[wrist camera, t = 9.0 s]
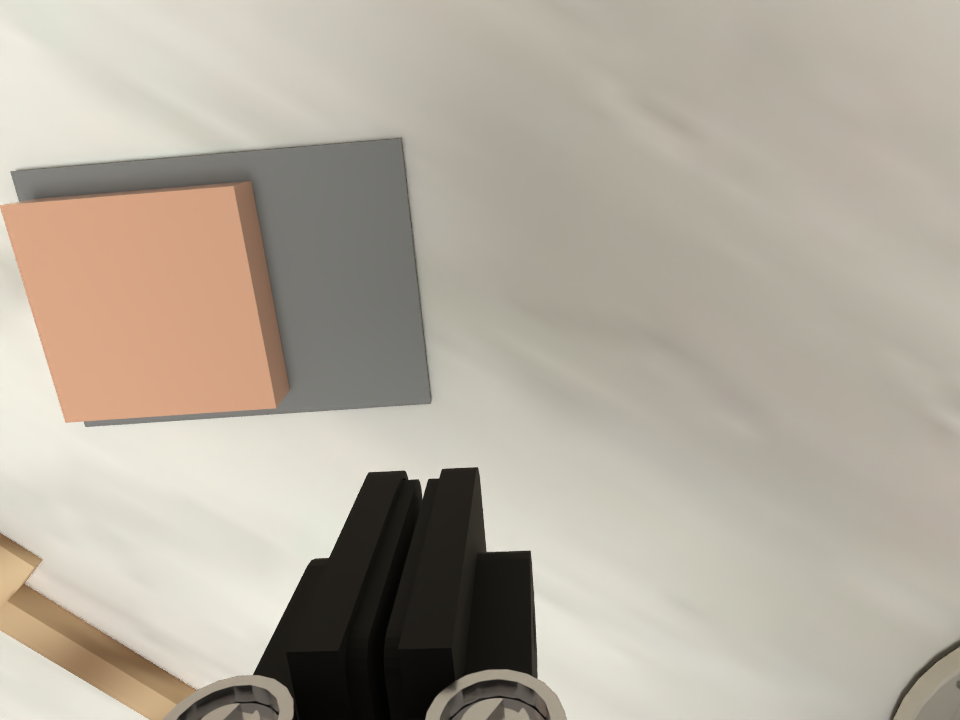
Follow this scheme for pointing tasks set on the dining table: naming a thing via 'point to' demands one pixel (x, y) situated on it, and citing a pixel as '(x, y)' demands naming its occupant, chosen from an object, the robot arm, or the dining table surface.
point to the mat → (307, 263)
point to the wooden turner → (80, 642)
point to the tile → (151, 300)
